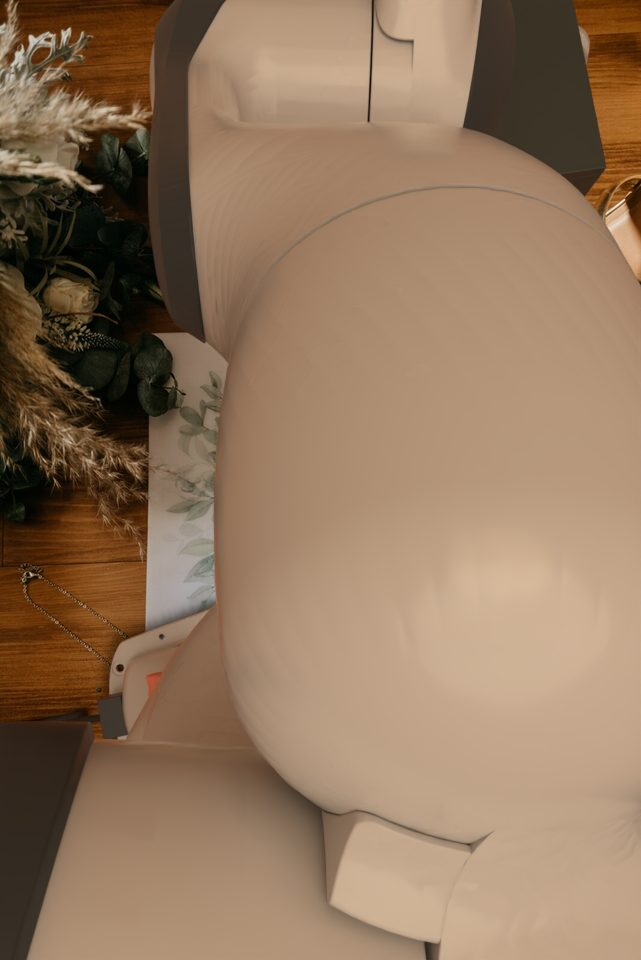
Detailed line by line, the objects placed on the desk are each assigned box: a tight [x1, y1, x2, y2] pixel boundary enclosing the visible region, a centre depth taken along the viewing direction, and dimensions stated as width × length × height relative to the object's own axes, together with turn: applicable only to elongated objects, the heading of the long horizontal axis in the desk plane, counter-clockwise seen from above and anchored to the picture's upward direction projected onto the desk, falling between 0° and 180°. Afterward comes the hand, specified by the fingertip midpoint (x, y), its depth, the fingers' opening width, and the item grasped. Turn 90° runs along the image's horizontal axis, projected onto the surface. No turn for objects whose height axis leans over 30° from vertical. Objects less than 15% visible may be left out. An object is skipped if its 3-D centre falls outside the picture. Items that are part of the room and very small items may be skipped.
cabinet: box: [497, 0, 607, 198], centre depth 68 cm, size 10×16×30 cm, turn 9°
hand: (375, 158), depth 61 cm, fingers closed
